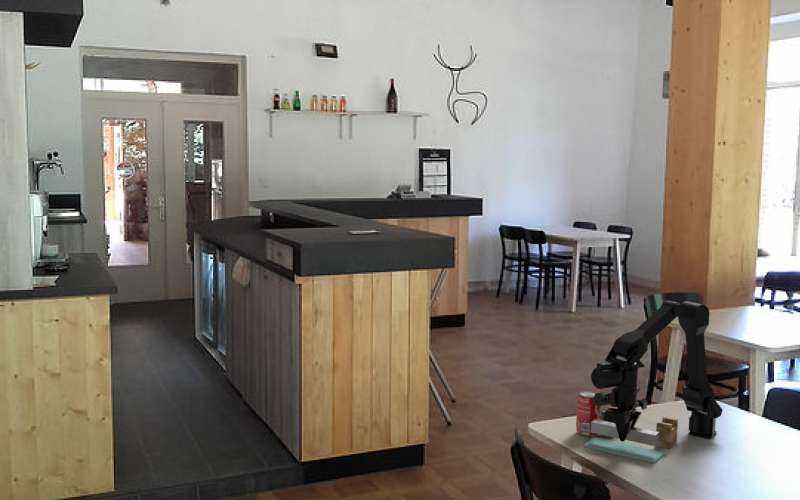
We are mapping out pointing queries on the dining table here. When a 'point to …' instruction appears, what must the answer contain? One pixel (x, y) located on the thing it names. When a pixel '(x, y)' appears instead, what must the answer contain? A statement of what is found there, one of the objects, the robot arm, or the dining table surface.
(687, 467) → the dining table surface
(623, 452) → the mat
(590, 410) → the soda can
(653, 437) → the rail
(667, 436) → the post
